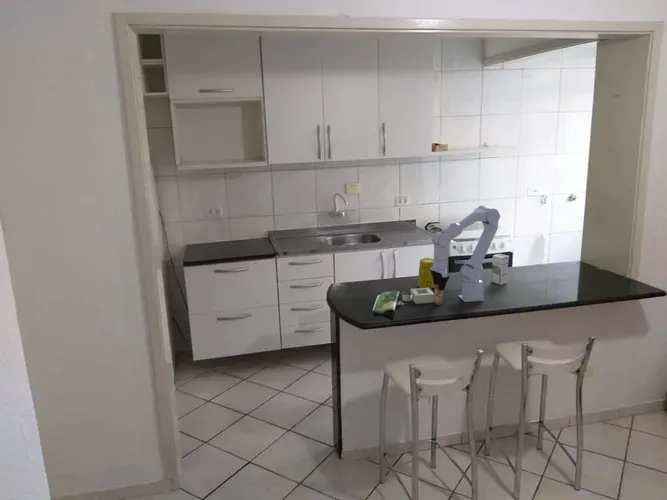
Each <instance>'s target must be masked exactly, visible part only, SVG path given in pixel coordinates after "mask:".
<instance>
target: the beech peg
mask: <svg viewBox="0 0 667 500" xmlns="http://www.w3.org/2000/svg"><path fill="white" fill-rule="evenodd" d="M434 294H435V298H434V304H435V305H437V306H441V305H443V301H444V300H443V299H444V297H443V296H444V290H442V291H440V290H439V285H437V286H435V288H434Z"/></svg>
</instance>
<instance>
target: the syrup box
mask: <svg viewBox="0 0 667 500" xmlns="http://www.w3.org/2000/svg"><path fill="white" fill-rule="evenodd" d="M509 258H510V257H509V255H506V254H503V253H496V254H494V255H492V263H491V265H492V266H491V268H492V269H491V280H490V281H491V283H493V284H495V285H499V286H502V285H505V284H508V272H509V271H508V270H509V269H508V268H509Z"/></svg>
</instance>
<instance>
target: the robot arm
mask: <svg viewBox="0 0 667 500" xmlns="http://www.w3.org/2000/svg"><path fill="white" fill-rule="evenodd" d="M500 219H501V214H500V212H499V211H498V209H497V208H492V207H490V206H487V205H484V204H482V205H479V206H478V207H477V208H475V209H474V210H473V212H471V213H469V215H468V216H466V217H465V218H463V219H462V220H461V221H459V222H458V223H457V222H453V223H452V222H451V223H450V224H449V226H447V227H445V228H443V229H441V231H437V232H435V233H434V234H433V235H432V237H431V241H432V243H433V259H434V264H433V268H431V269H430V271H431V274H432V277H433V282H434V285H437V286H439V290H440V291H442V290H443V291H445V288H446V285H447V282H448V281H449V279H450V276H449V275H448V272H447V260H448V259H447V258H448V254H447V253H448V246H450V243H451V241H453V240H454V239H455V238H457V237H459V236H460V235H461V234H462V233H463V230H464V229H466V228H468V227H469V226H471V225H473V224H475V223H476V222H481V223H482V226H483V230H482V233H481V234H480V237H479V239H478V241H477V243H476V245H475V247H474V250H473V252H472V254H471V257H470V258H469V259H468V260H466V261H465V262H464V264H463V265H462V266H461V267H460V270H459V275H460V276H461V280H462V284H461V294H458V297H459V298H460V299H461V300H462V301H463V302H464V303H466V302H467V303H469V302H484V292H485V289H484V288H485V285H484V284H485V283H484V282H483V280H482V278H483V272H484V267H483V261H484V259H485V257H486V255H487V253H488V250H489V249H490V246H491V244H492V242H493V239H494V237H495V235H496V233H497V231H498V229H499V220H500Z"/></svg>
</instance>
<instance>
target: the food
mask: <svg viewBox="0 0 667 500" xmlns="http://www.w3.org/2000/svg"><path fill="white" fill-rule="evenodd" d="M433 264H434V258H432V257H431V258H429V257H424V258H421V259H420V260H419V266H418V267H419V268H418V280H417V283H418V284H417V286H418V288H430V290H433V289H435V286H438V285H434V282H433V277H432V274H431V271H430V269H431V268H433Z"/></svg>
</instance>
